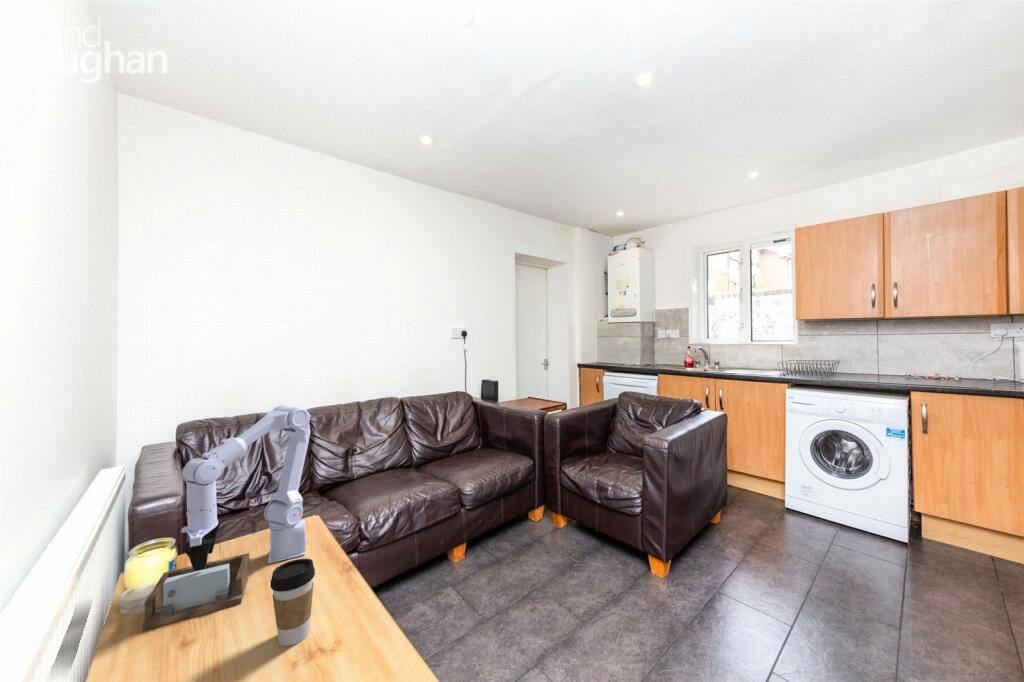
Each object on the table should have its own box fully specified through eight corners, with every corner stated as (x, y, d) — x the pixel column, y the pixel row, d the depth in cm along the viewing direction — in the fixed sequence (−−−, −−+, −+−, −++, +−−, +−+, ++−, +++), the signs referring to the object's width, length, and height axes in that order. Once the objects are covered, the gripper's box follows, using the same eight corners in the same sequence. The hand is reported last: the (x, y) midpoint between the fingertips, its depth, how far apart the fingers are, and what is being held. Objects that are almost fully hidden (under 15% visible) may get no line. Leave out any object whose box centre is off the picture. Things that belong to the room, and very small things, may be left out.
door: (229, 591, 95) (229, 563, 95) (227, 598, 92) (226, 570, 92) (167, 607, 89) (166, 578, 89) (162, 616, 87) (161, 585, 87)
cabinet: (249, 572, 105) (249, 553, 105) (241, 603, 93) (240, 581, 93) (164, 594, 97) (164, 572, 97) (142, 631, 84) (142, 606, 84)
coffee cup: (302, 651, 78) (301, 578, 78) (262, 651, 78) (260, 579, 78) (323, 620, 86) (322, 555, 86) (287, 621, 87) (285, 555, 87)
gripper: (189, 499, 99) (191, 551, 99) (172, 523, 86) (173, 582, 87) (223, 494, 103) (224, 544, 103) (210, 516, 90) (212, 572, 90)
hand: (203, 561), depth 95 cm, fingers open, 7 cm apart
